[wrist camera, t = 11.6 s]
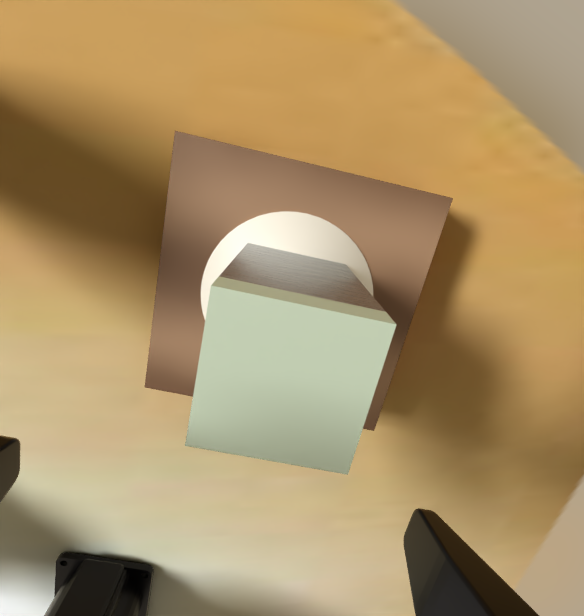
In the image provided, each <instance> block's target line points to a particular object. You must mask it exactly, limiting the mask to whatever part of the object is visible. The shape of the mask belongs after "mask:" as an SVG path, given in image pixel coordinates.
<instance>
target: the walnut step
mask: <svg viewBox="0 0 584 616" xmlns="http://www.w3.org/2000/svg"><path fill="white" fill-rule="evenodd" d="M452 200H453V198H450V197H446V196H441V195H437V194H433V193H429V192H425V191H421V190H417V189H413V188H408V187H404V186H400V185H396V184H392V183H388V182H384V181H380V180H376V179H371V178H367V177H363V176H359V175H355V174H351V173H347V172H343V171H338V170H334V169H330V168H326V167H322V166H318V165H314V164H310V163H305V162H301V161H297V160H293V159H289V158H285V157H281V156H277V155H273V154H268V153H264V152H260V151H256V150H252V149H248V148H244V147H240V146H235V145H231V144H227V143H223V142H219V141H215V140H211V139H207V138H202V137H198V136H194V135H190V134H186V133H182V132H178V131H175V136H174V144H173V153H172V161H171V170H170V178H169V187H168V195H167V203H166V212H165V220H164V229H163V237H162V246H161V254H160V263H159V271H158V279H157V288H156V296H155V305H154V313H153V322H152V330H151V339H150V347H149V355H148V364H147V372H146V381H145V387H146V388H151V389H156V390H162V391H167V392H172V393H178V394H183V395H188V396H193V394H194V388H195V381H196V375H197V369H198V363H199V357H200V350H201V344H202V338H203V332H204V326H205V319H206V313H207V307H208V301H209V295H210V288H211V285H212V284H213V282H214V281H215V280H216V279H217V278H218V277H219V276H220V274H221V273H222V272H223V271H224V270H225V269H226V267H227V266H228V265H229V264H230V263H231V262H232V260H233V259H234V258H235V257H236V256H237V255H238V254H239V252H240V251H241V250H242V249H243V248H244V247H245V245H246V244H247V243H251V244H256V245H260V246H265V247H269V248H274V249H278V250H283V251H287V252H292V253H296V254H301V255H305V256H310V257H314V258H319V259H323V260H328V261H332V262H337V263H342V264H346V265H347V266H348V267H349V269H350V270H351V271H352V272H353V273H354V275H355V276H356V277H357V278H358V279H359V280H360V282H361V283H362V284H363V285H364V286H365V288H366V289H367V290H368V291H369V292H370V294H371V295H372V296H373V297H374V298H375V299H376V301H377V302H378V303H379V304H380V305H381V307H382V308H383V309H384V310H385V311H386V313H387V314H388V315H389V316H390V317H391V318H392V320H393V321H394V322H395V323H396V324H397V325H396V328H395V331H394V334H393V337H392V340H391V343H390V346H389V350H388V353H387V356H386V359H385V362H384V365H383V368H382V371H381V374H380V377H379V380H378V383H377V386H376V389H375V392H374V396H373V399H372V402H371V405H370V408H369V411H368V414H367V417H366V420H365V423H364V426H363V429H367V430H373V431H374V429H375V426H376V423H377V421H378V418H379V415H380V412H381V409H382V406H383V403H384V400H385V397H386V394H387V391H388V388H389V385H390V382H391V379H392V376H393V373H394V370H395V367H396V365H397V362H398V359H399V356H400V353H401V350H402V347H403V344H404V341H405V338H406V335H407V332H408V329H409V326H410V323H411V320H412V317H413V314H414V311H415V309H416V306H417V303H418V300H419V297H420V294H421V291H422V288H423V285H424V282H425V279H426V276H427V273H428V270H429V267H430V264H431V261H432V258H433V256H434V253H435V250H436V247H437V244H438V241H439V238H440V235H441V232H442V229H443V226H444V223H445V220H446V217H447V214H448V211H449V208H450V205H451V202H452Z"/></svg>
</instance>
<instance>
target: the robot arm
mask: <svg viewBox="0 0 584 616" xmlns="http://www.w3.org/2000/svg"><path fill="white" fill-rule="evenodd" d="M19 471H20V442H19V440H18V439H16V438H12V437H6V436H0V502H1V501H2V500H3V498H4V497H5V495H6V494H7V492H8V491H9V490H10V488H11V487H12V485H13V484H14V482H15V481H16V479H17V477H18V474H19ZM404 550H405V556H406V562H407V568H408V574H409V579H410V585H411V591H412V597H413V603H414V609H415V614H416V616H539V615H538V614H537V613H536V612H535V611H534V610H533V609H532V608H531V607H530V606H529V605H528V604H527V603H526V602H525V601H524V600H523V599H522V598H521V597H520V596H519V595H518V594H517V593H516V592H515V591H514V590H513V589H512V588H511V587H510V586H509V585H508V584H507V583H506V582H505V581H504V580H503V579H502V578H501V577H500V576H499V575H498V574H497V573H496V572H495V571H494V570H493V569H492V568H491V567H490V566H489V565H488V564H487V563H486V562H485V561H483V560H482V559H481V558H480V557H479V556H478V555H477V554H476V553H475V552H474V551H473V550H472V549H471V548H470V547H469V546H468V545H467V544H466V543H465V542H464V541H463V540H462V539H461V538H460V537H459V536H458V535H457V534H456V533H455V532H454V531H453V530H452V529H451V528H450V527H449V526H448V525H447V524H446V523H445V522H444V521H443V520H442V519H441V518H440V517H439V516H438V515H437V514H436V513H435V512H433V511H431V510H425V509H416V510H415V511H414V512H413V514H412V517H411V519H410V522H409V524H408V527H407V529H406V532H405V535H404ZM153 573H154V569H153V567H152V566H150V565H146V564H140V563H133V562H127V561H120V560H114V559H107V558H101V557H94V556H88V555H81V554H75V553H68V552H64V553H62V554H60V556H59V558H58V559H57V561H56V576H55V598H54V600H53V601H52V603H51V605H50V606H49V608H48V610H47V612H46V613H45V615H44V616H147V612H148V606H149V599H150V593H151V586H152V580H153Z"/></svg>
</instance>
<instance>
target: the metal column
mask: <svg viewBox="0 0 584 616" xmlns="http://www.w3.org/2000/svg"><path fill="white" fill-rule="evenodd" d="M396 325H397V324H396V323H395V322H394V321H393V320H392V318H391V317H390V316H389V315H388V314H387V313H386V311H385V310H384V309H383V308H382V307H381V305H380V304H379V303H378V302H377V301H376V299H375V298H374V297H373V296H372V295H371V294H370V292H369V291H368V290H367V289H366V288H365V286H364V285H363V284H362V283H361V282H360V280H359V279H358V278H357V277H356V276H355V275H354V273H353V272H352V271H351V270H350V269H349V267H348V266H347V265H346V264H342V263H337V262H332V261H328V260H323V259H319V258H314V257H310V256H305V255H301V254H296V253H292V252H287V251H283V250H278V249H274V248H269V247H265V246H260V245H256V244H251V243H247V244H246V245H245V247H244V248H243V249H242V250H241V251H240V252H239V254H238V255H237V256H236V257H235V258H234V259H233V260H232V262H231V263H230V264H229V265H228V266H227V267H226V269H225V270H224V271H223V272H222V273H221V274H220V276H219V277H218V278H217V279H216V280H215V281H214V282H213V284H212V285H211V288H210V295H209V301H208V307H207V313H206V319H205V326H204V332H203V338H202V344H201V350H200V357H199V363H198V369H197V375H196V381H195V388H194V394H193V400H192V406H191V412H190V419H189V425H188V431H187V437H186V443H185V446H189V447H195V448H201V449H206V450H212V451H218V452H223V453H229V454H235V455H240V456H246V457H251V458H257V459H263V460H268V461H274V462H280V463H285V464H291V465H297V466H302V467H308V468H313V469H319V470H325V471H330V472H336V473H342V474H347V475H348V472H349V469H350V466H351V463H352V460H353V457H354V454H355V451H356V448H357V445H358V442H359V439H360V435H361V432H362V429H363V426H364V423H365V420H366V417H367V414H368V411H369V408H370V405H371V402H372V399H373V396H374V392H375V389H376V386H377V383H378V380H379V377H380V374H381V371H382V368H383V365H384V362H385V359H386V356H387V353H388V350H389V346H390V343H391V340H392V337H393V334H394V331H395V328H396Z"/></svg>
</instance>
